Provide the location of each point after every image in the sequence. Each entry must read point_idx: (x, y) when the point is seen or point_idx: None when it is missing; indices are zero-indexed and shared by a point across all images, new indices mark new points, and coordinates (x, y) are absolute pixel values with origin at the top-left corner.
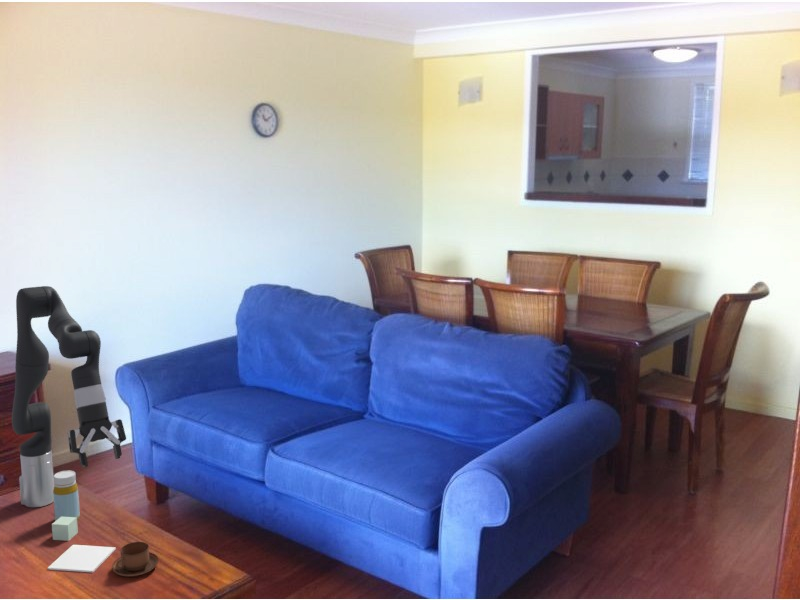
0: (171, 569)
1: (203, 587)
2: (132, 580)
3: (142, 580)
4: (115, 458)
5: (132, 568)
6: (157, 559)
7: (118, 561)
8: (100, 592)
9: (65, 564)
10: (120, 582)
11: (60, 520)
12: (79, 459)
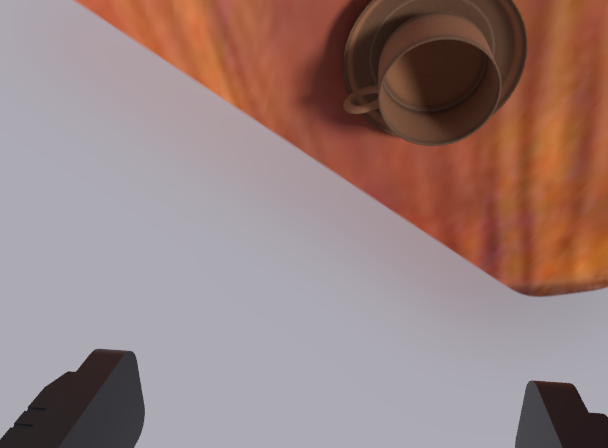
0: (519, 135)
1: (516, 262)
2: None
3: None
4: (530, 385)
5: (400, 107)
6: (511, 86)
7: (353, 113)
8: (274, 126)
9: None
10: None
11: None
12: (5, 435)
